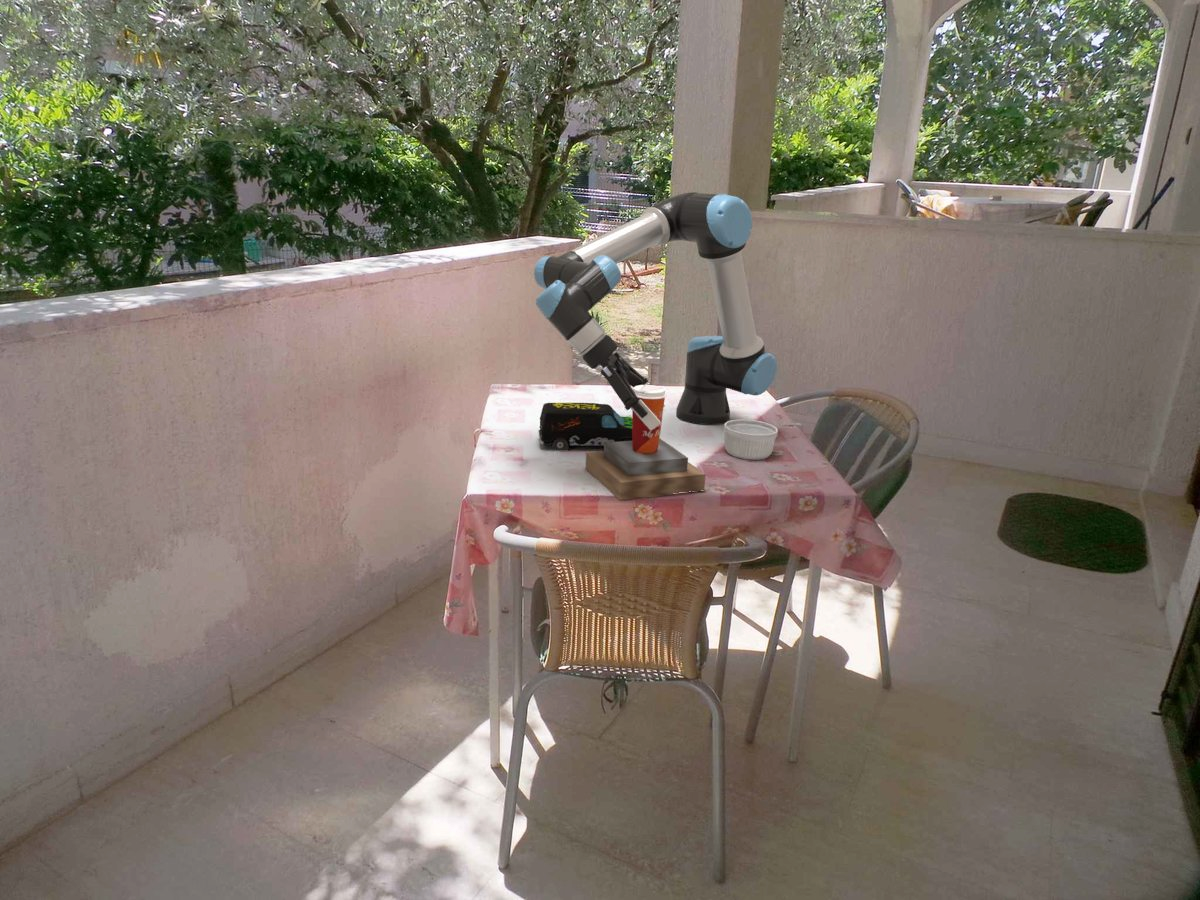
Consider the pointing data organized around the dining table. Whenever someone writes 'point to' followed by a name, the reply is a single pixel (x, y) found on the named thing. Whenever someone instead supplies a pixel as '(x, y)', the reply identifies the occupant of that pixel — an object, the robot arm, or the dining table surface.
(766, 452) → the ramekin
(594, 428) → the toy van
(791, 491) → the dining table surface
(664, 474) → the two-tone square platform
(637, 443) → the paper cup
